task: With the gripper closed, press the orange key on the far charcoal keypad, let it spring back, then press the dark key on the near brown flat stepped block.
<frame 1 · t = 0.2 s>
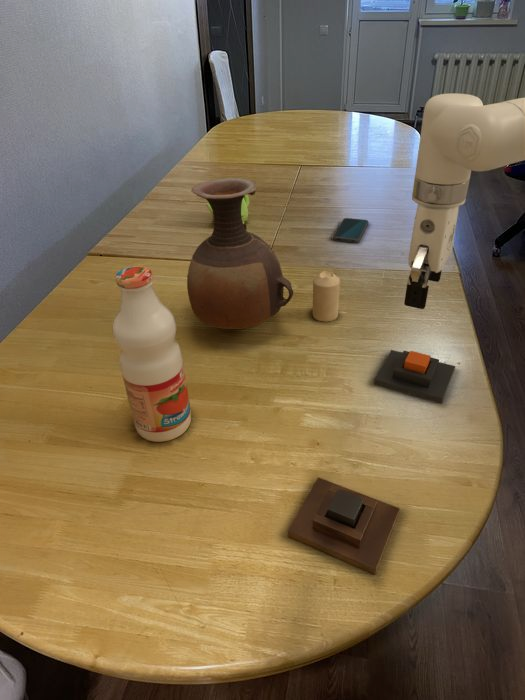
hand: (422, 292, 85), 17 cm above the table, tool pointing down, fingers open, 9 cm apart
fruit juice: (164, 424, 87), on the table
brown flat stepped block: (344, 524, 69), on the table
candle: (325, 315, 113), on the table
enter key: (417, 362, 92), point 3 cm above the table, slide at 0.1 cm
keypad a: (414, 377, 94), on the table
vase: (237, 327, 110), on the table
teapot: (229, 223, 158), on the table
smartphone: (350, 231, 149), on the table
space key: (345, 508, 67), point 3 cm above the table, slide at 0.1 cm
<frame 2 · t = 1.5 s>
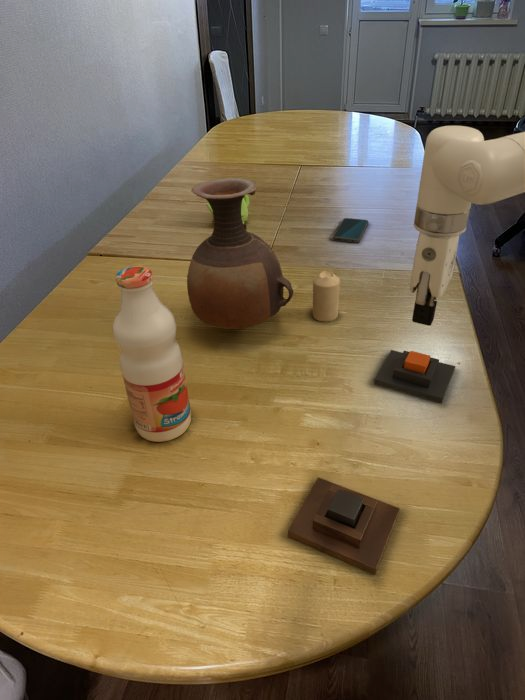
hand: (422, 321, 87), 12 cm above the table, tool pointing down, fingers closed
nothing on the table moved.
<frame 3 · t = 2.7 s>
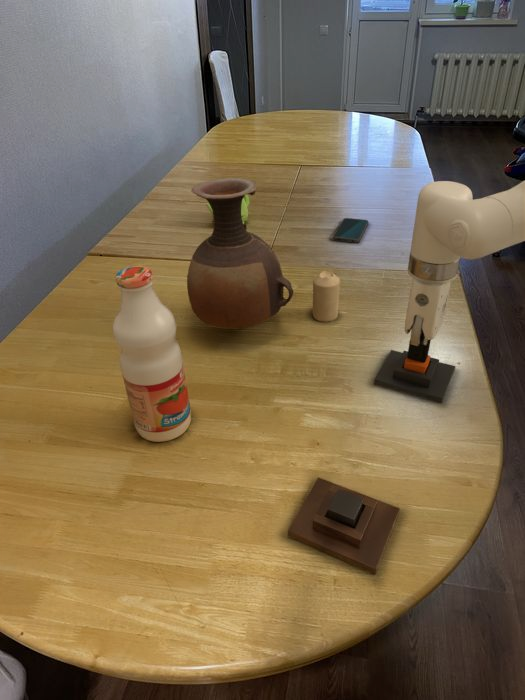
hand: (417, 358, 91), 4 cm above the table, tool pointing down, fingers closed
enter key: (417, 362, 92), point 3 cm above the table, slide at 0.0 cm, touching gripper
everything else where it was.
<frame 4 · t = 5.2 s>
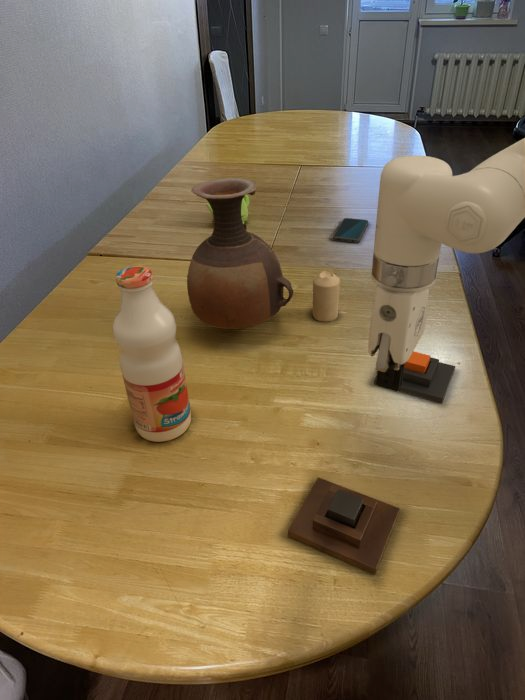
hand: (388, 385, 72), 13 cm above the table, tool pointing down, fingers closed
enter key: (417, 362, 92), point 3 cm above the table, slide at 0.1 cm
everything else where it was.
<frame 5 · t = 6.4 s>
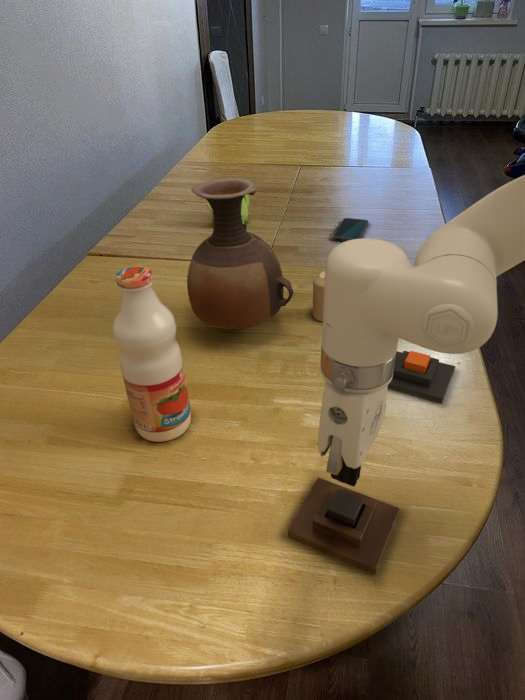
hand: (345, 477, 64), 9 cm above the table, tool pointing down, fingers closed
nothing on the table moved.
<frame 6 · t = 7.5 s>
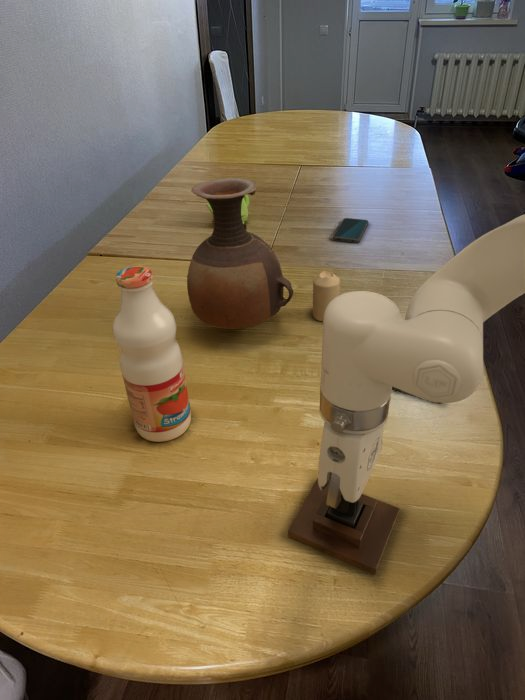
hand: (344, 507, 67), 4 cm above the table, tool pointing down, fingers closed
space key: (345, 511, 68), point 3 cm above the table, slide at -0.6 cm, touching gripper
everything else where it was.
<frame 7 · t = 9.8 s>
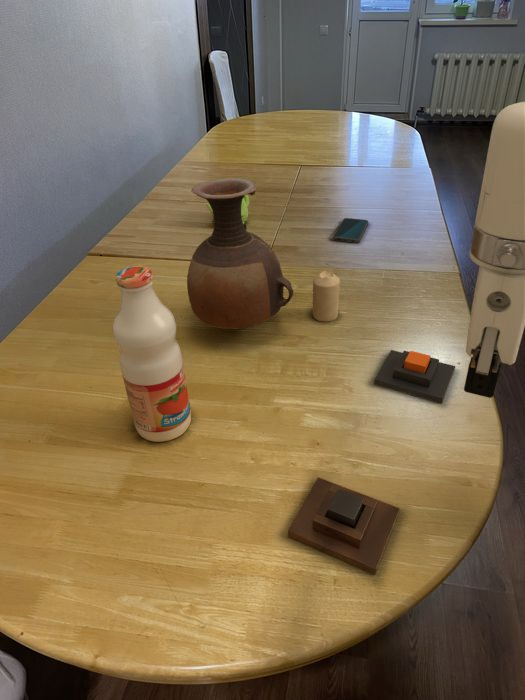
hand: (478, 390, 60), 20 cm above the table, tool pointing down, fingers closed
space key: (345, 508, 67), point 3 cm above the table, slide at 0.1 cm
everything else where it was.
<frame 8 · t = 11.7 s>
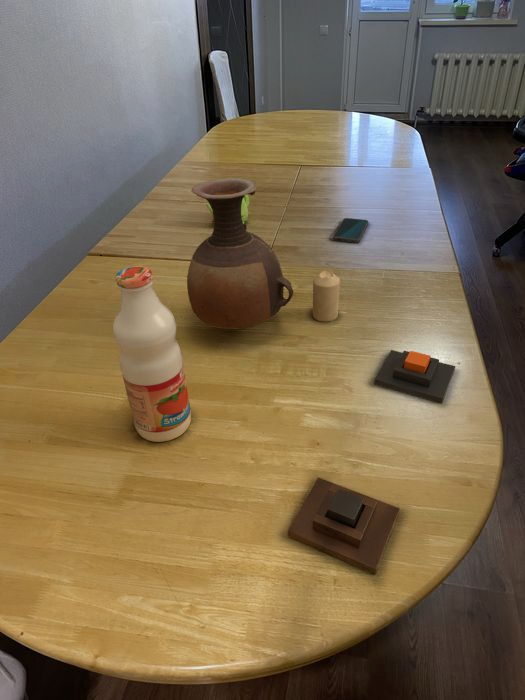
nothing on the table moved.
at the end: enter key pushed in 1.1 cm at the most during the clip, back to where it started at the end; space key pushed in 1.1 cm at the most during the clip, back to where it started at the end; space key slide at 0.1 cm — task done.
